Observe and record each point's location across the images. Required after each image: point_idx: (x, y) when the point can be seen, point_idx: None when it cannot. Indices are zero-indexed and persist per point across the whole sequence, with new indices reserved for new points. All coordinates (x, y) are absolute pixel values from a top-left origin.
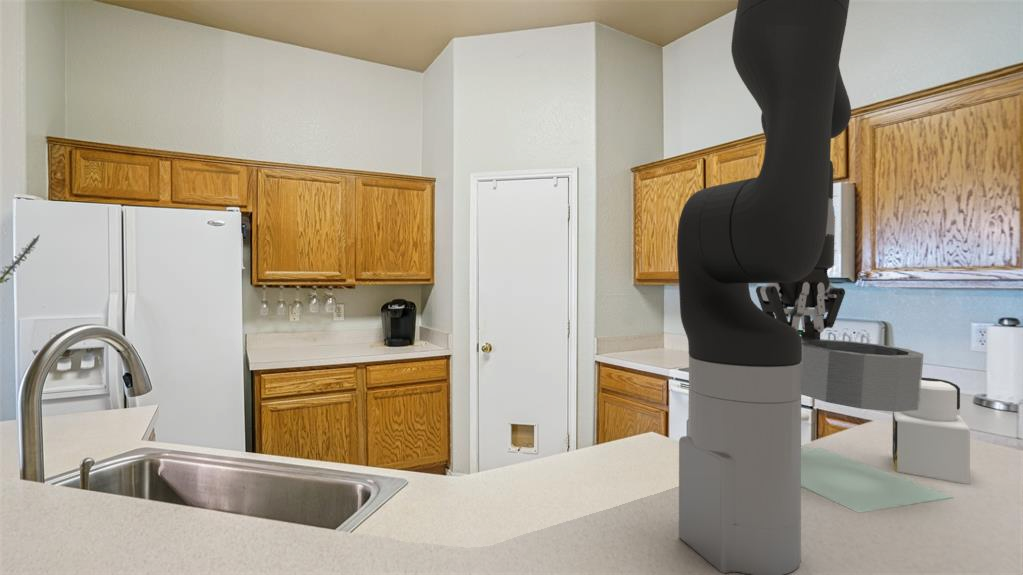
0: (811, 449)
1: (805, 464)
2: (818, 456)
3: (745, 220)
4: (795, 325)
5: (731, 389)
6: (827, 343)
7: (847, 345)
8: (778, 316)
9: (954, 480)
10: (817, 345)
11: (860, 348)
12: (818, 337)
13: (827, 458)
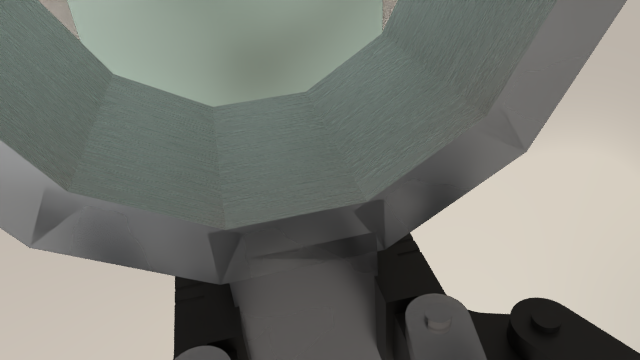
0: None
1: (254, 12)
2: (168, 65)
3: None
4: (443, 332)
5: None
6: (221, 218)
7: (91, 180)
8: (631, 350)
9: None
10: (308, 193)
11: (15, 125)
12: (208, 318)
13: (152, 46)
